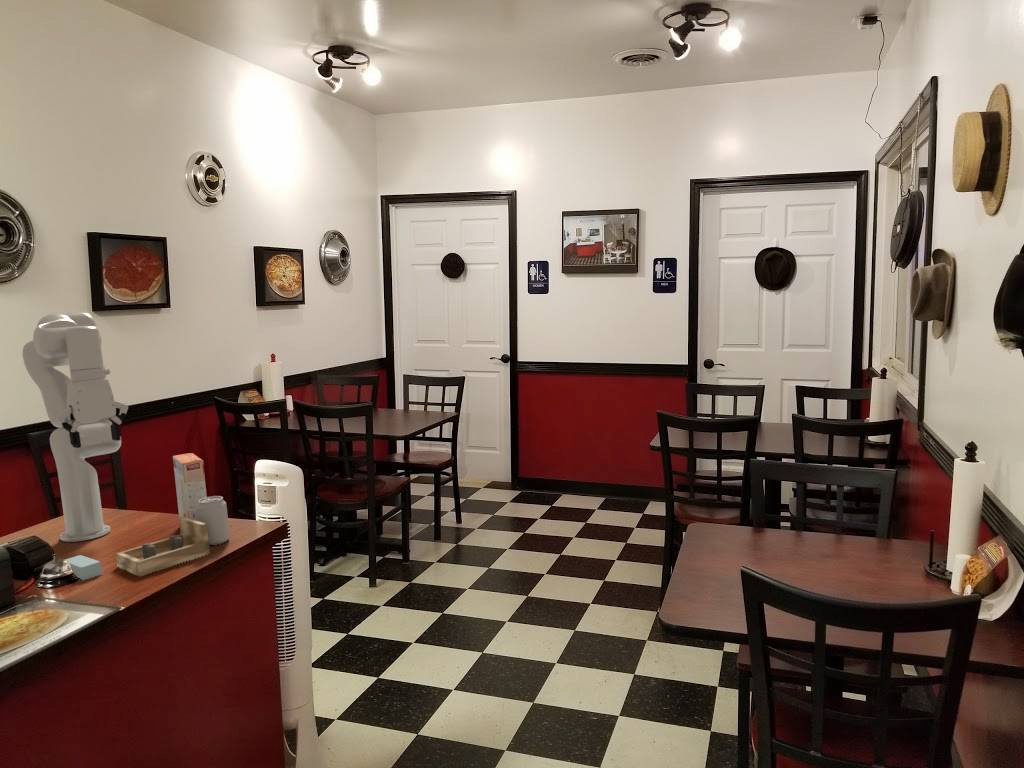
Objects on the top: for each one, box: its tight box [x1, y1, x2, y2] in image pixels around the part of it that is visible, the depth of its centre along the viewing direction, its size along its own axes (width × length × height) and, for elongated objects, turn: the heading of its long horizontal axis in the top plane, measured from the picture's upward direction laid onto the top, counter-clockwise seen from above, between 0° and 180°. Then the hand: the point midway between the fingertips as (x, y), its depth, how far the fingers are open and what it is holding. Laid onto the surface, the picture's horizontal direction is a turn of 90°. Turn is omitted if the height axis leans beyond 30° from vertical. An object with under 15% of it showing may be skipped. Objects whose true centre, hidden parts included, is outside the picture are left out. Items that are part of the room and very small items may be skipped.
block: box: [64, 554, 103, 581], centre depth 193 cm, size 10×4×4 cm, turn 54°
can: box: [196, 495, 231, 546], centre depth 211 cm, size 8×8×12 cm
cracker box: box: [172, 452, 208, 521], centre depth 223 cm, size 14×6×21 cm, turn 33°
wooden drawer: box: [115, 517, 211, 578], centre depth 199 cm, size 12×18×8 cm, turn 140°
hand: (97, 443), depth 199 cm, fingers open, 9 cm apart
